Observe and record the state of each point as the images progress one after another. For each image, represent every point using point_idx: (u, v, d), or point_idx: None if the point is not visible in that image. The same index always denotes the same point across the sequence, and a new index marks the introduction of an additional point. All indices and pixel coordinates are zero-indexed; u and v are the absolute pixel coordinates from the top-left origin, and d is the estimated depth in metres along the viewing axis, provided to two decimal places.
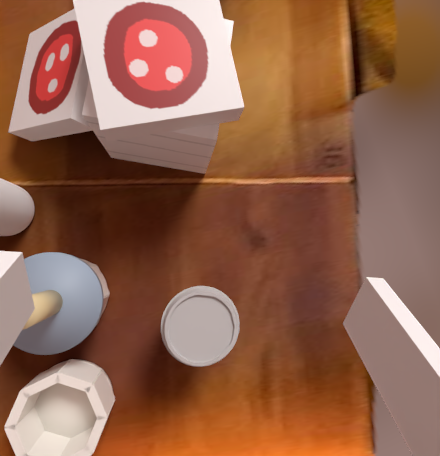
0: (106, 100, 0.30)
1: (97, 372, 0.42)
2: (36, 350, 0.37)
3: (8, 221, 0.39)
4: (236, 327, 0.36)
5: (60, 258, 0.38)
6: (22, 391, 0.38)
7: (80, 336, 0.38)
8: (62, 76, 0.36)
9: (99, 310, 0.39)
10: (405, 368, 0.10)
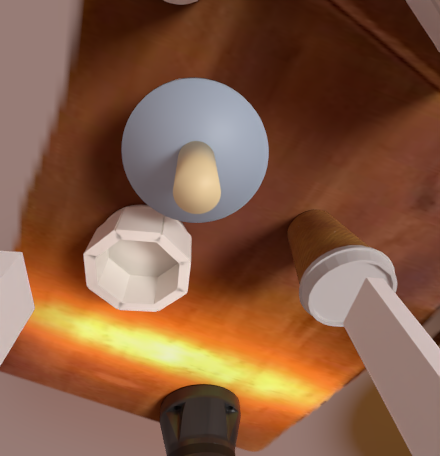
0: None
1: (189, 241, 0.36)
2: (154, 204, 0.28)
3: None
4: None
5: (242, 109, 0.24)
6: (116, 231, 0.30)
7: (209, 216, 0.29)
8: None
9: (246, 201, 0.29)
10: (405, 368, 0.10)
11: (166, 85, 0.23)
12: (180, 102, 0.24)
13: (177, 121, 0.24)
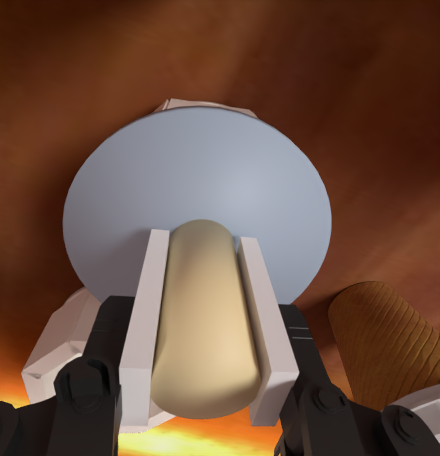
0: None
1: None
2: None
3: None
4: None
5: (291, 165, 0.13)
6: (70, 343, 0.19)
7: None
8: None
9: None
10: (247, 308, 0.11)
11: (142, 123, 0.11)
12: (172, 154, 0.12)
13: (167, 188, 0.13)
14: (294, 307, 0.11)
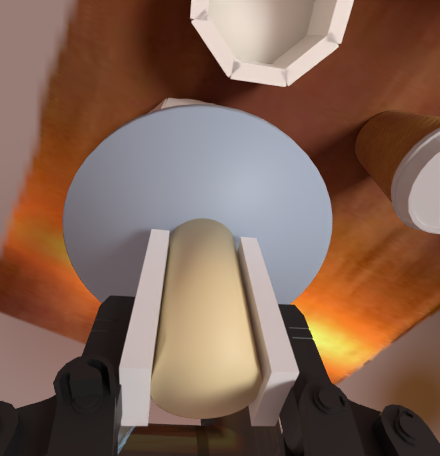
0: None
1: None
2: None
3: None
4: None
5: (292, 163, 0.13)
6: None
7: None
8: None
9: None
10: None
11: (143, 121, 0.11)
12: (172, 153, 0.12)
13: (167, 186, 0.13)
14: (294, 307, 0.11)
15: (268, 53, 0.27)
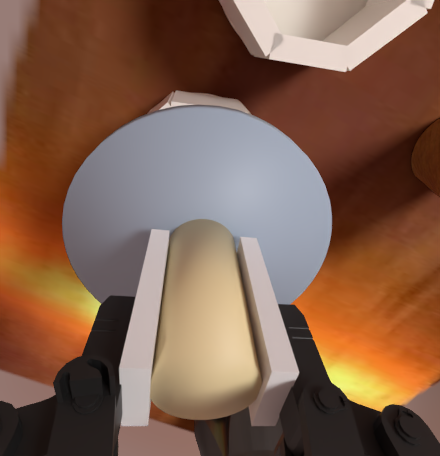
0: None
1: None
2: None
3: None
4: None
5: (291, 164, 0.13)
6: (171, 106, 0.17)
7: None
8: None
9: None
10: None
11: (142, 122, 0.11)
12: (172, 153, 0.12)
13: (166, 187, 0.13)
14: (294, 307, 0.11)
15: (311, 31, 0.20)
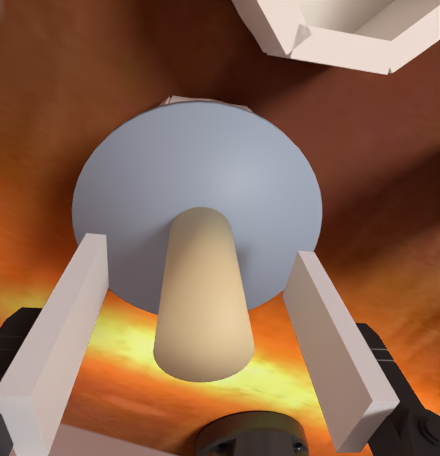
0: None
1: None
2: (133, 297, 0.18)
3: None
4: None
5: (283, 155, 0.14)
6: None
7: None
8: None
9: (278, 290, 0.18)
10: (318, 327, 0.11)
11: (146, 116, 0.12)
12: (173, 145, 0.13)
13: (168, 176, 0.14)
14: (366, 326, 0.11)
15: (338, 23, 0.16)
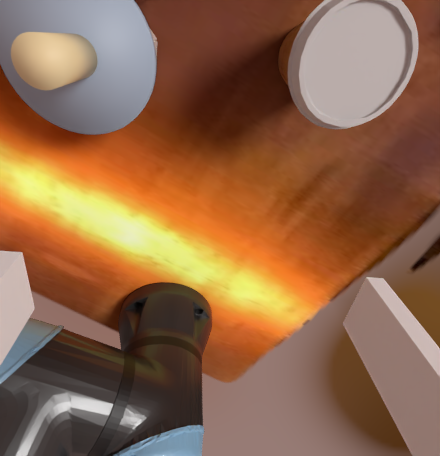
0: None
1: (153, 37, 0.28)
2: (38, 107, 0.27)
3: None
4: (391, 102, 0.23)
5: None
6: None
7: (99, 127, 0.28)
8: None
9: (137, 113, 0.27)
10: (405, 368, 0.10)
11: None
12: None
13: (50, 7, 0.23)
14: None
15: None
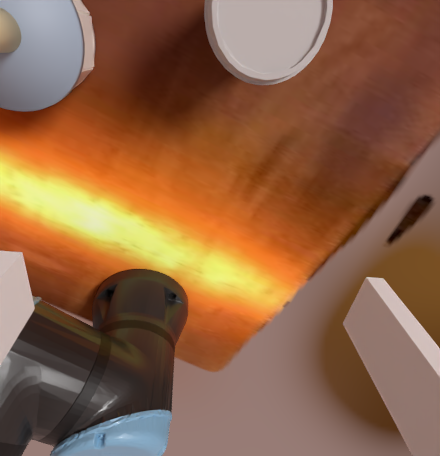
0: None
1: (83, 10, 0.28)
2: None
3: None
4: (315, 49, 0.23)
5: None
6: None
7: (34, 103, 0.28)
8: None
9: (69, 85, 0.27)
10: (405, 368, 0.10)
11: None
12: None
13: None
14: None
15: None
